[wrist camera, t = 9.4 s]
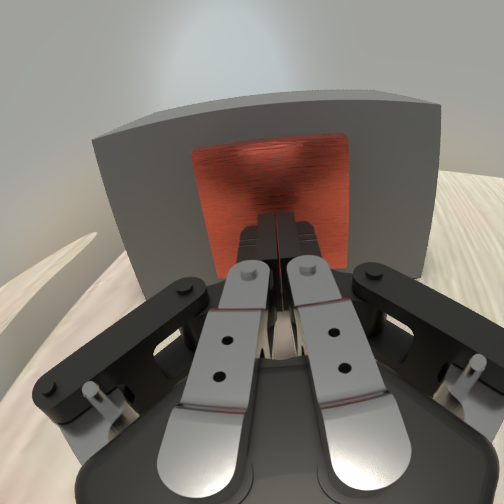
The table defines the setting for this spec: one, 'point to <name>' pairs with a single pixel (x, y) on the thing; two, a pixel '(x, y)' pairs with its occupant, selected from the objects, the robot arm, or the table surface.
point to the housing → (267, 126)
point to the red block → (275, 190)
